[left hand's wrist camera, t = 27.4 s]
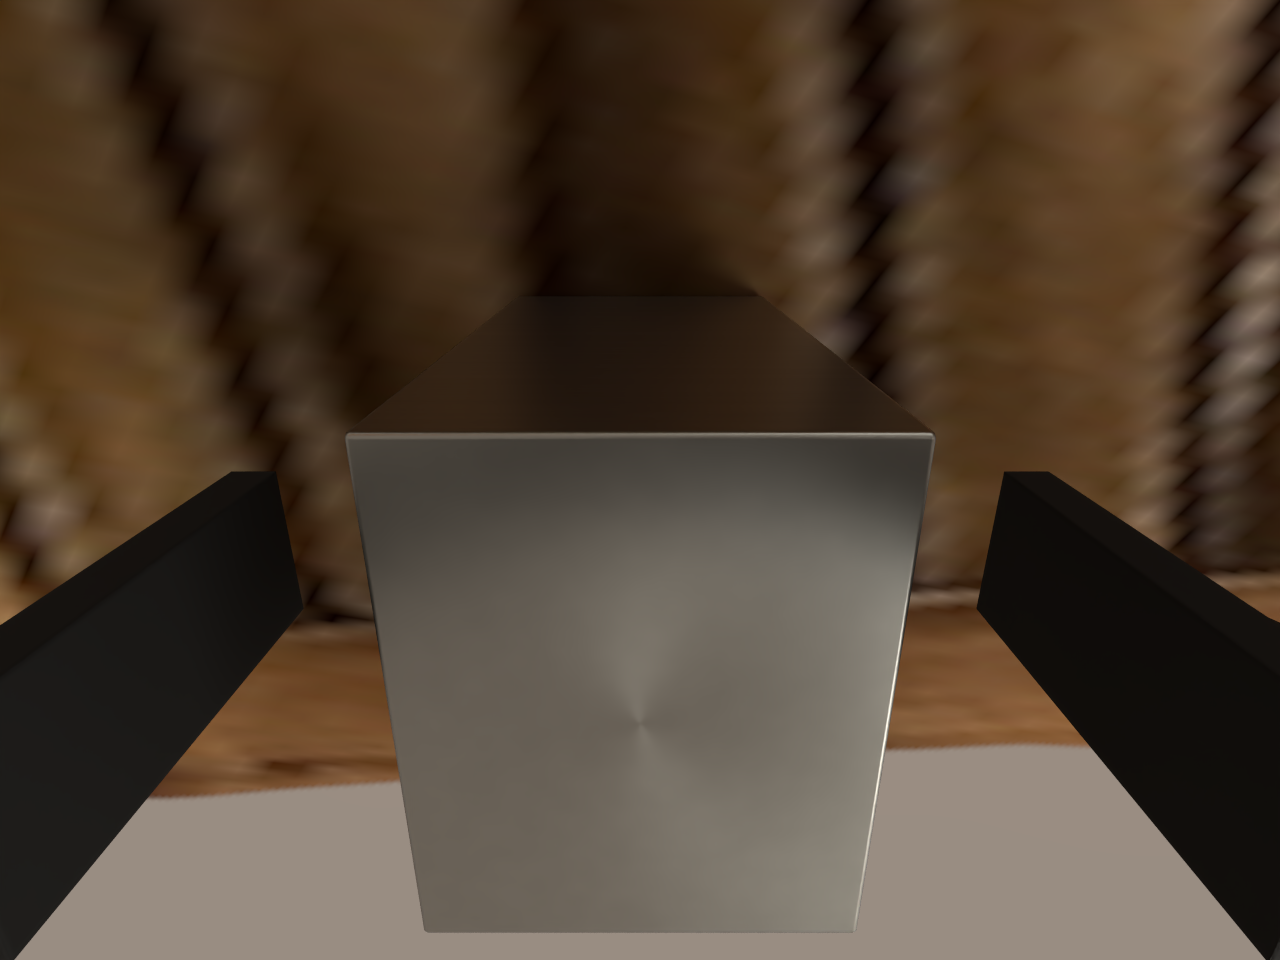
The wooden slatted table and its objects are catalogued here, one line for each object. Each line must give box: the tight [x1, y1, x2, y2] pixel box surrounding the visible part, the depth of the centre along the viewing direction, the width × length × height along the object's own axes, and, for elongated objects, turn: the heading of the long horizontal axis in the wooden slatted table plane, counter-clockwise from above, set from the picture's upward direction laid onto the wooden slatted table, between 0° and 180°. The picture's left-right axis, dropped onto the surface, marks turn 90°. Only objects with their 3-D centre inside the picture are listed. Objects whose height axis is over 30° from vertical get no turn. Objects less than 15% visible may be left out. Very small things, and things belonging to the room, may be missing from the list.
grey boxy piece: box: [345, 296, 936, 932], centre depth 13 cm, size 6×7×11 cm
